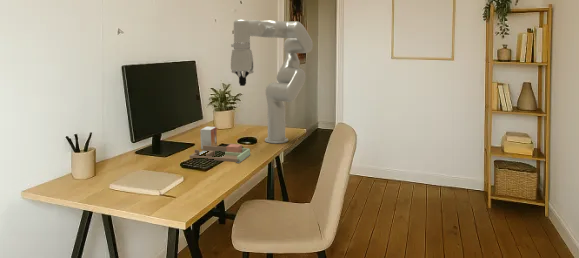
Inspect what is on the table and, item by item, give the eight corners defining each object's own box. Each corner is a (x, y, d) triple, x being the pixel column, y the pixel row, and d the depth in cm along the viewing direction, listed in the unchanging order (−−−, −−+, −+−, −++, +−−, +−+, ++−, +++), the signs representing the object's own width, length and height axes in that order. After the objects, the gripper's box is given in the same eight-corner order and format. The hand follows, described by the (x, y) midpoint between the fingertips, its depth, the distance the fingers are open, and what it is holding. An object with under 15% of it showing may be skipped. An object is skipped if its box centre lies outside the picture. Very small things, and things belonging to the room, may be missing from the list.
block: (231, 154, 202) (231, 143, 201) (242, 154, 201) (242, 144, 200) (226, 157, 197) (226, 146, 196) (237, 157, 196) (237, 147, 195)
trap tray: (203, 151, 209) (203, 145, 209) (250, 154, 204) (250, 148, 203) (189, 159, 195) (189, 152, 194) (238, 163, 189) (238, 156, 189)
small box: (211, 150, 211) (210, 129, 209) (200, 150, 212) (200, 129, 210) (217, 146, 218) (216, 126, 216) (207, 146, 219) (206, 126, 217)
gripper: (224, 46, 200) (225, 85, 203) (254, 46, 196) (254, 86, 200) (230, 46, 207) (231, 84, 211) (259, 46, 203) (259, 85, 207)
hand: (242, 85), depth 205 cm, fingers closed
